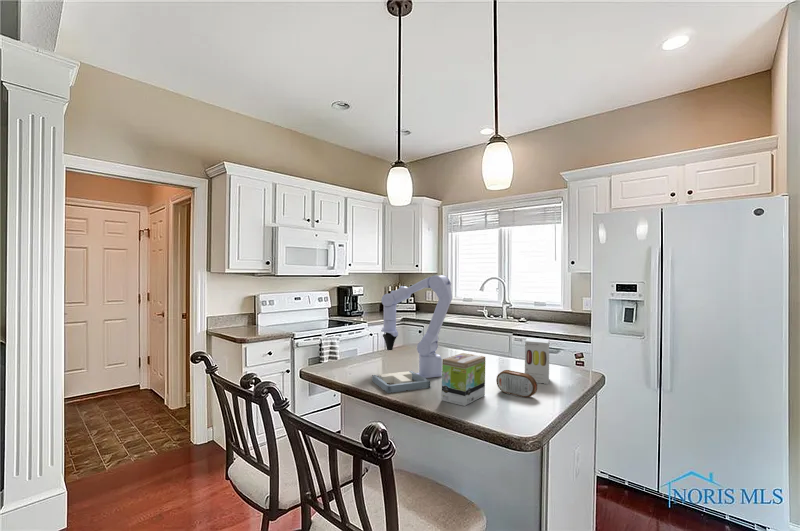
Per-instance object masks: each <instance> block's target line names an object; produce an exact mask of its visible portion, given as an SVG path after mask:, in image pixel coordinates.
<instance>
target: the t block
mask: <svg viewBox="0 0 800 531" xmlns="http://www.w3.org/2000/svg"><path fill="white" fill-rule="evenodd" d="M378 377H379V378H380V379H382V380H383V381H384V382H386V383H390V384H401V383H409V382H413V379H412V373H410V372H409V371H408V370H407V371H400V372H399V371H398V372H389V373H381V374H379V375H378Z"/></svg>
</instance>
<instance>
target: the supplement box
mask: <svg viewBox="0 0 800 531" xmlns="http://www.w3.org/2000/svg"><path fill="white" fill-rule="evenodd" d="M524 343H525V344H524V345H525V346H524V373H526V374H529V375H531V376H532V377H533V378H534V379H535V381H536V383H537V384H541V383H544V384H543V385H549V381H550V339H545V338H534V337H533V338H531V337H527V338H526V339H525V342H524Z"/></svg>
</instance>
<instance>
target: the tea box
mask: <svg viewBox="0 0 800 531" xmlns="http://www.w3.org/2000/svg"><path fill="white" fill-rule="evenodd" d="M485 386H486V356H485V355H484V356H483V355H477V354H472V353H464V352H462V353H458V354H455V355H452V356H449V357H445V358H443V359H442V376H441V401H443V402H448V403H450V404H454V405H459V406H462V407H463V406H464V407H466V406H467V405H469V404H471V403H472V402H475V401H477V400H478V399H481V398H483V397H484V396H486V395H485V394H486V392H485V391H486V387H485Z"/></svg>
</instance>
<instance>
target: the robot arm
mask: <svg viewBox="0 0 800 531" xmlns="http://www.w3.org/2000/svg"><path fill="white" fill-rule="evenodd" d="M451 286H452V283H451V280H450V279H449V277H448V276H447V275H444V274H440V275H436V274H435V275H432V276H428V277H426V278H424V279H422V280H419V281H417V282H415V283H414V284H412V285H410V286H409V287H408V286H404V285H400V286H399V287H398V288H397V289H395V290H391V291H390V293H384V294H383V295H382V297H381V304H382V305H383V327H381V329H380V332H382V333H383V334H382V337H383V339H384V341H385V346H386V350H387V351H393V350H394V349H393V348H394V344H395V342H396V339H397V338H398V337H399V331H397V305H398V304H399V303H401V302H403V301H406V300H408V299H410V298H411V297H412V294H414V293H416V292H419V291H421V290H423V289H431V291H433V292H434V293H435V294H436V296H437V299H438V300H437V304H436V306H435V309H434V312H433V315H432V317H431V320H430V322H429V324H428V327H427V330H426V332H425V334H424V335H423V337H422V338H421V340H420V341H419V342H418V343H417V346H416V350H417V353H418V355H419V356H418V358H419V360H418V372H415V373H416V374H418V375H420V376H422V377H424V378H426V379H429V378H437V377H442V362H443V359H442V357H441V355H440V354H438V353H436V351H437V350H438V348H439V347H438V346H439V345H438V342H439V340H440V339H439V334H440V331H441V329H442V326H443V324H444V321H445V319H446V316H447V313H448V310H449V307H450V305H451V303H452V300H453V294H452V287H451Z"/></svg>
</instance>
